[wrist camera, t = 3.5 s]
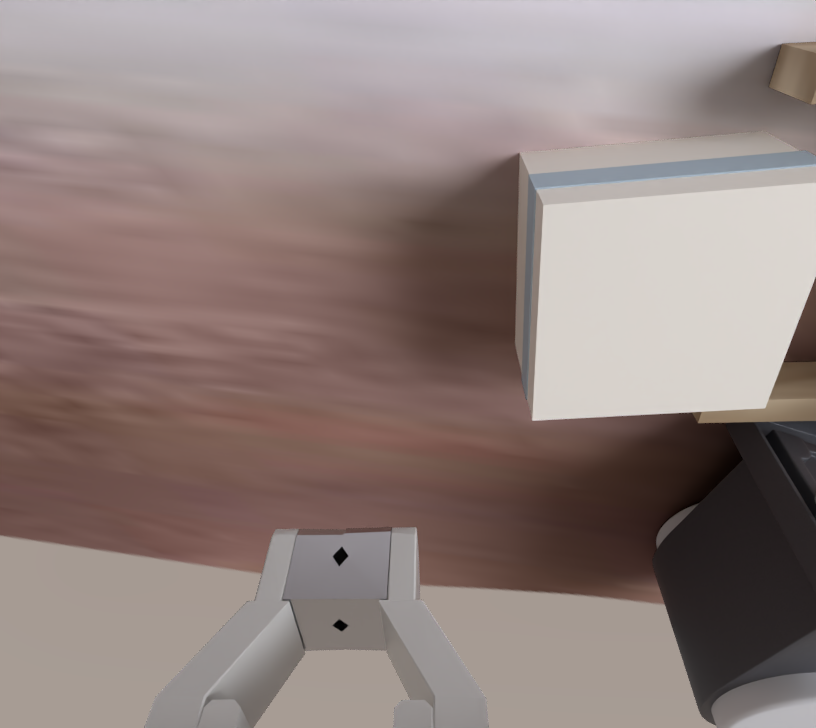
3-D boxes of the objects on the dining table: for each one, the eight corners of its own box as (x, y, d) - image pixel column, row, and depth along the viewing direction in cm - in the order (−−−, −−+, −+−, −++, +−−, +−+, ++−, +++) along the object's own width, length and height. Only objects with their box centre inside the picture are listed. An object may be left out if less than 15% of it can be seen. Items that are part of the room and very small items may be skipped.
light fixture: (592, 537, 33) (644, 756, 24) (748, 380, 25) (907, 628, 16) (747, 575, 35) (845, 790, 26) (940, 441, 26) (1171, 691, 18)
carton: (517, 149, 19) (541, 203, 15) (763, 127, 19) (855, 177, 15) (512, 342, 24) (530, 421, 20) (707, 329, 23) (766, 409, 19)
